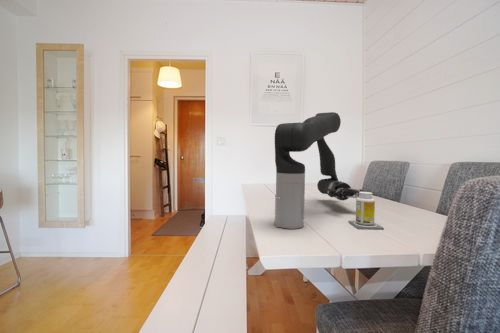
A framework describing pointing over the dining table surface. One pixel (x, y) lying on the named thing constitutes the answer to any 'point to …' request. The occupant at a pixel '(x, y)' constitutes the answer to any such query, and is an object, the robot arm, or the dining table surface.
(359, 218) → the supplement bottle
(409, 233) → the dining table surface
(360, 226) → the slate tile
